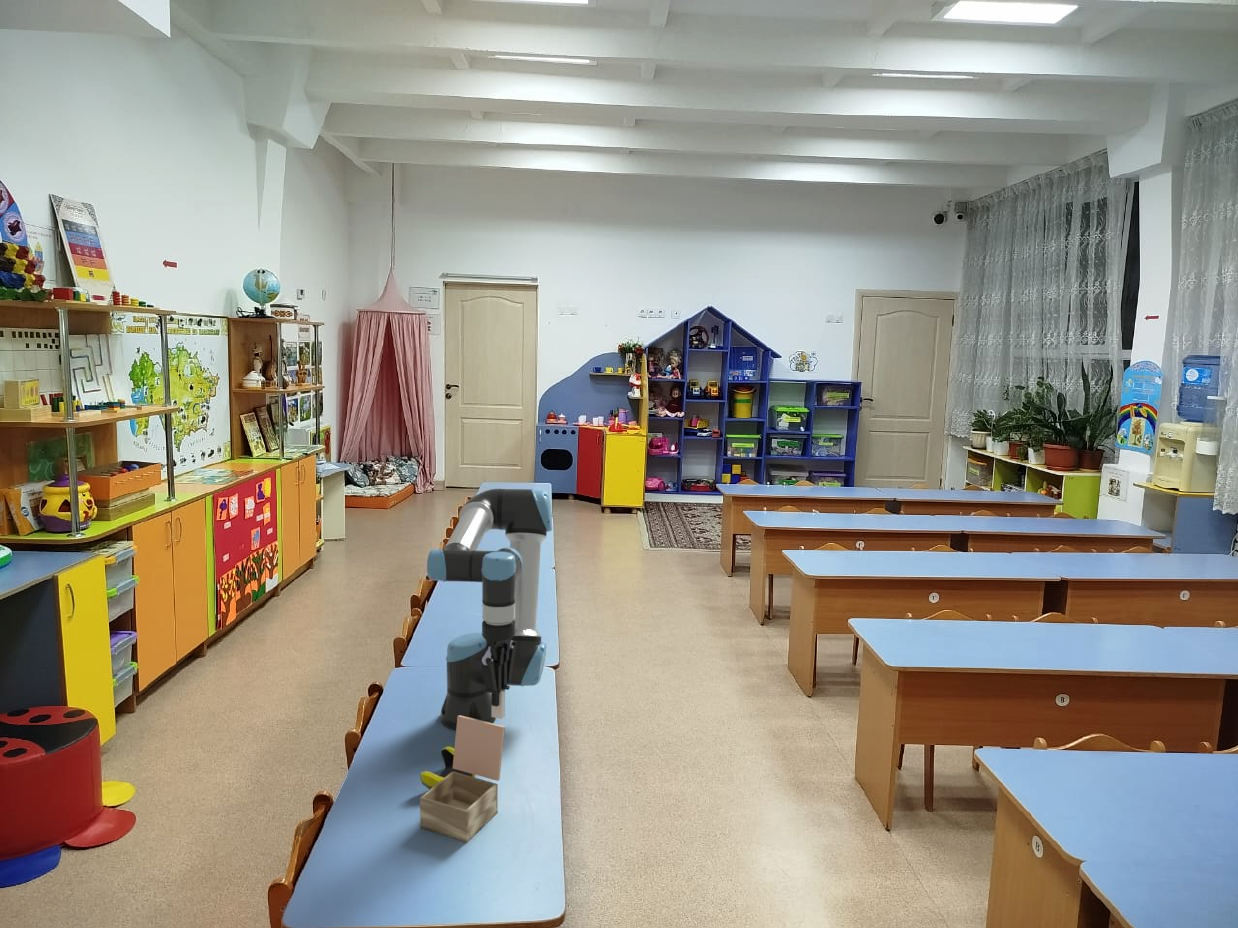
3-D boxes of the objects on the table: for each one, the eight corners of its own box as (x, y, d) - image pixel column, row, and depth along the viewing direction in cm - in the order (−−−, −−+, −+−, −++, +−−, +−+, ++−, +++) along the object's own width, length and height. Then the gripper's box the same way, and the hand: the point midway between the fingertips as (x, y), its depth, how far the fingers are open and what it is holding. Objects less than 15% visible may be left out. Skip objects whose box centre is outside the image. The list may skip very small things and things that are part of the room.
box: (452, 799, 191) (452, 771, 189) (497, 812, 186) (497, 783, 185) (420, 827, 180) (419, 797, 179) (467, 842, 175) (467, 811, 174)
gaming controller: (417, 796, 192) (457, 803, 190) (416, 774, 191) (457, 780, 189) (444, 763, 206) (482, 769, 204) (444, 743, 205) (482, 748, 203)
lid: (452, 768, 189) (455, 766, 190) (497, 780, 185) (500, 779, 186) (457, 715, 189) (460, 714, 190) (502, 727, 185) (505, 726, 186)
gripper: (499, 609, 198) (499, 702, 202) (468, 626, 186) (468, 724, 190) (527, 614, 195) (526, 708, 199) (497, 631, 183) (497, 731, 187)
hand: (498, 716), depth 194 cm, fingers closed
